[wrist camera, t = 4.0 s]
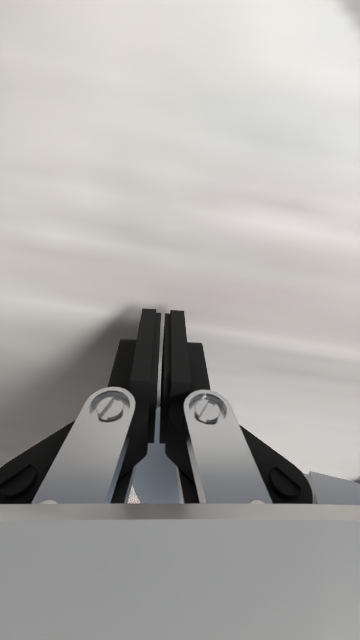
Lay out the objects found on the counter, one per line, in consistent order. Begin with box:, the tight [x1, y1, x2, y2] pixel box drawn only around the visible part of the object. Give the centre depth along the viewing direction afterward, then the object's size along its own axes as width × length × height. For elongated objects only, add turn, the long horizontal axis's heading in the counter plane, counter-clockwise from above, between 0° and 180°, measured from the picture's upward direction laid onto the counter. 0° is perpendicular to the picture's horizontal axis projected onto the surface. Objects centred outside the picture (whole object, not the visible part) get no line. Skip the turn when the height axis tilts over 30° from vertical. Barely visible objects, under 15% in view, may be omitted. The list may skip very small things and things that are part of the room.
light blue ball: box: [132, 407, 181, 504], centre depth 13 cm, size 6×6×6 cm
